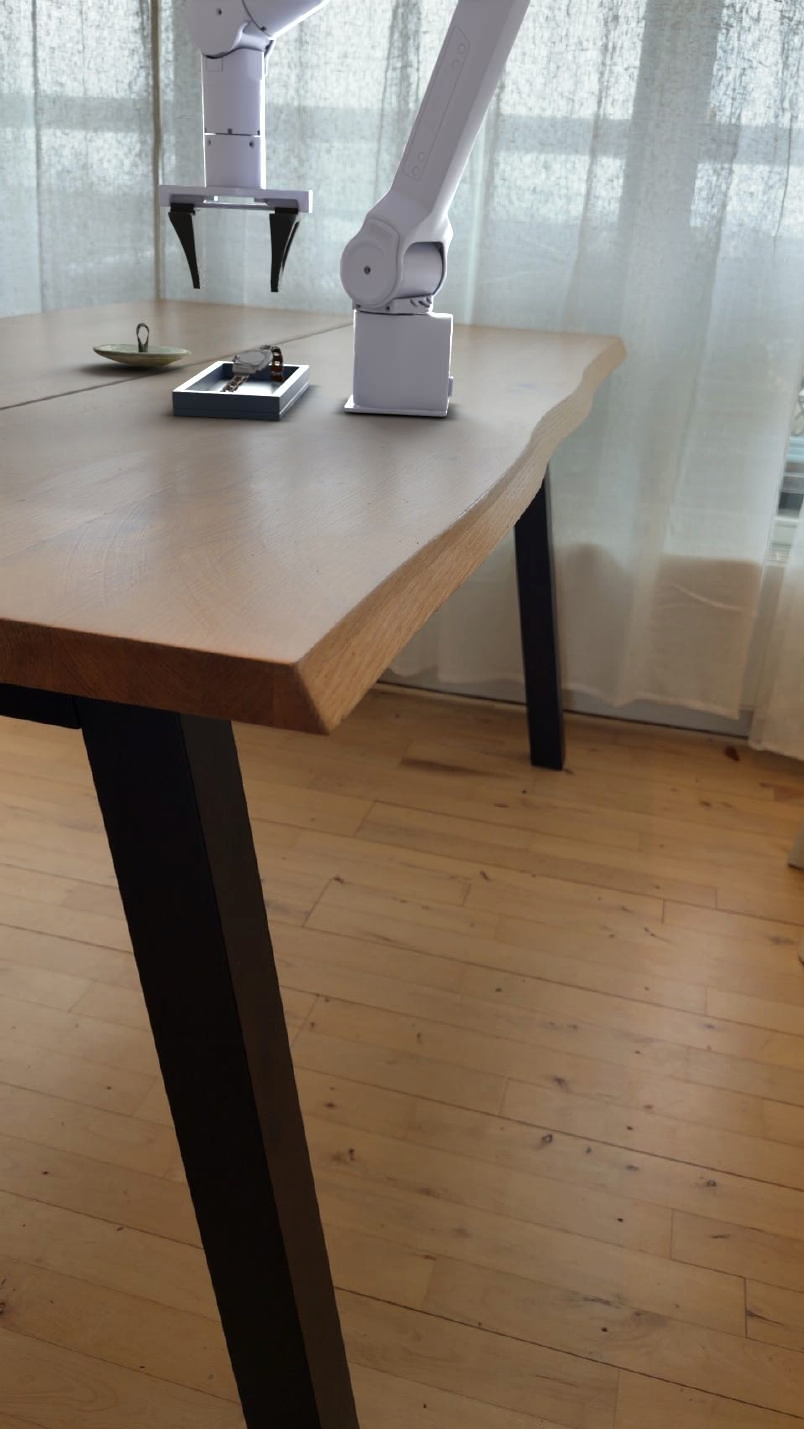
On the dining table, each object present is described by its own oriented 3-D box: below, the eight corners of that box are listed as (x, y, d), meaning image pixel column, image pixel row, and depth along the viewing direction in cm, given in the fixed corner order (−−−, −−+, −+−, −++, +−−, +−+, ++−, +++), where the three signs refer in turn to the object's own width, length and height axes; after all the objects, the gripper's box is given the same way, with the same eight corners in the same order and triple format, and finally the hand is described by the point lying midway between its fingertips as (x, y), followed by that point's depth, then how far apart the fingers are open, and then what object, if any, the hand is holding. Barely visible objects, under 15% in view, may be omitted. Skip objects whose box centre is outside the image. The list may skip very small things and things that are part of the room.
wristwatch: (295, 382, 116) (289, 334, 113) (238, 449, 106) (229, 399, 103) (262, 379, 117) (256, 331, 114) (202, 445, 107) (193, 395, 104)
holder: (218, 382, 120) (217, 361, 119) (309, 386, 119) (309, 365, 118) (172, 415, 102) (171, 391, 101) (279, 420, 101) (279, 396, 101)
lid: (182, 393, 124) (198, 348, 123) (92, 357, 120) (107, 311, 119) (175, 380, 133) (190, 339, 132) (91, 346, 130) (105, 303, 128)
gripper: (146, 131, 104) (154, 289, 110) (305, 137, 103) (304, 296, 109) (165, 134, 110) (172, 284, 116) (315, 140, 110) (314, 290, 115)
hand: (237, 290), depth 113 cm, fingers open, 7 cm apart
